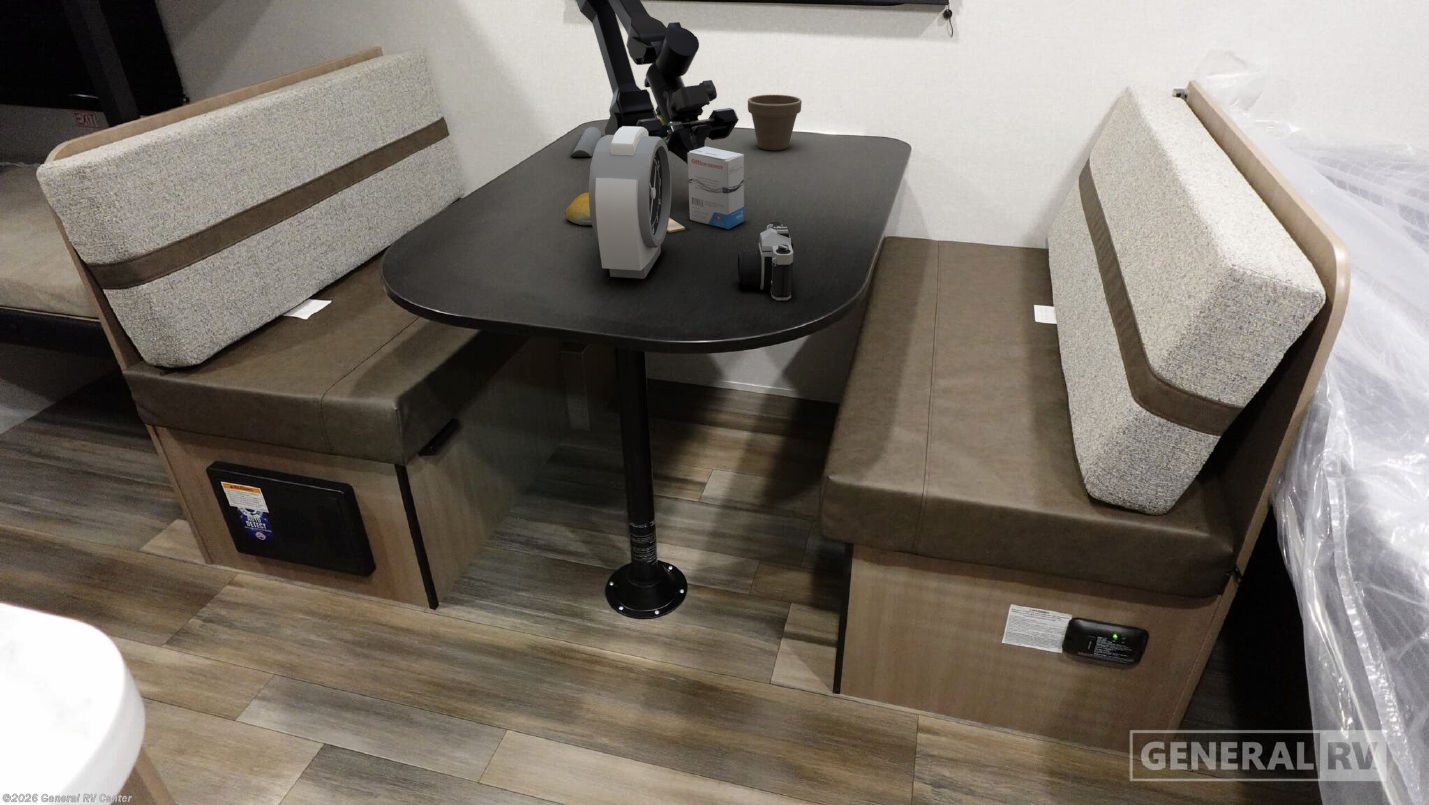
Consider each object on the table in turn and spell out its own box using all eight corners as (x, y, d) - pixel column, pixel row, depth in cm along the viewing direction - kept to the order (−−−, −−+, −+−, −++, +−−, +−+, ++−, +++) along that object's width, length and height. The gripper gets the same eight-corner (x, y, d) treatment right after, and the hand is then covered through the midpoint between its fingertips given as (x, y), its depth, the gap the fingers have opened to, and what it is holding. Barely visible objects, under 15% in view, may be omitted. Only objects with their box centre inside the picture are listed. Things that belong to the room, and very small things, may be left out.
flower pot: (765, 137, 198) (766, 90, 193) (809, 144, 193) (811, 97, 187) (736, 148, 190) (737, 100, 185) (781, 156, 185) (782, 107, 179)
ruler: (628, 206, 158) (628, 203, 157) (643, 203, 159) (643, 201, 159) (669, 232, 146) (669, 230, 145) (685, 229, 147) (685, 227, 147)
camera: (733, 266, 133) (732, 210, 128) (784, 264, 133) (786, 208, 128) (742, 309, 122) (742, 249, 117) (798, 306, 123) (800, 246, 118)
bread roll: (561, 225, 149) (558, 202, 147) (577, 208, 157) (575, 186, 154) (608, 228, 148) (606, 205, 146) (622, 210, 155) (621, 188, 153)
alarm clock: (648, 289, 126) (642, 147, 115) (591, 285, 127) (579, 144, 117) (675, 244, 141) (671, 115, 130) (624, 241, 142) (616, 113, 132)
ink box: (745, 221, 150) (745, 152, 144) (728, 230, 146) (727, 160, 140) (706, 211, 154) (704, 144, 148) (688, 220, 151) (686, 151, 145)
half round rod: (570, 158, 184) (569, 149, 183) (583, 134, 201) (582, 126, 200) (590, 158, 184) (590, 149, 183) (602, 134, 201) (601, 126, 200)
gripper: (633, 69, 142) (667, 154, 139) (733, 58, 150) (766, 138, 147) (616, 110, 152) (647, 190, 149) (711, 98, 159) (742, 173, 157)
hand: (701, 172), depth 150 cm, fingers closed
